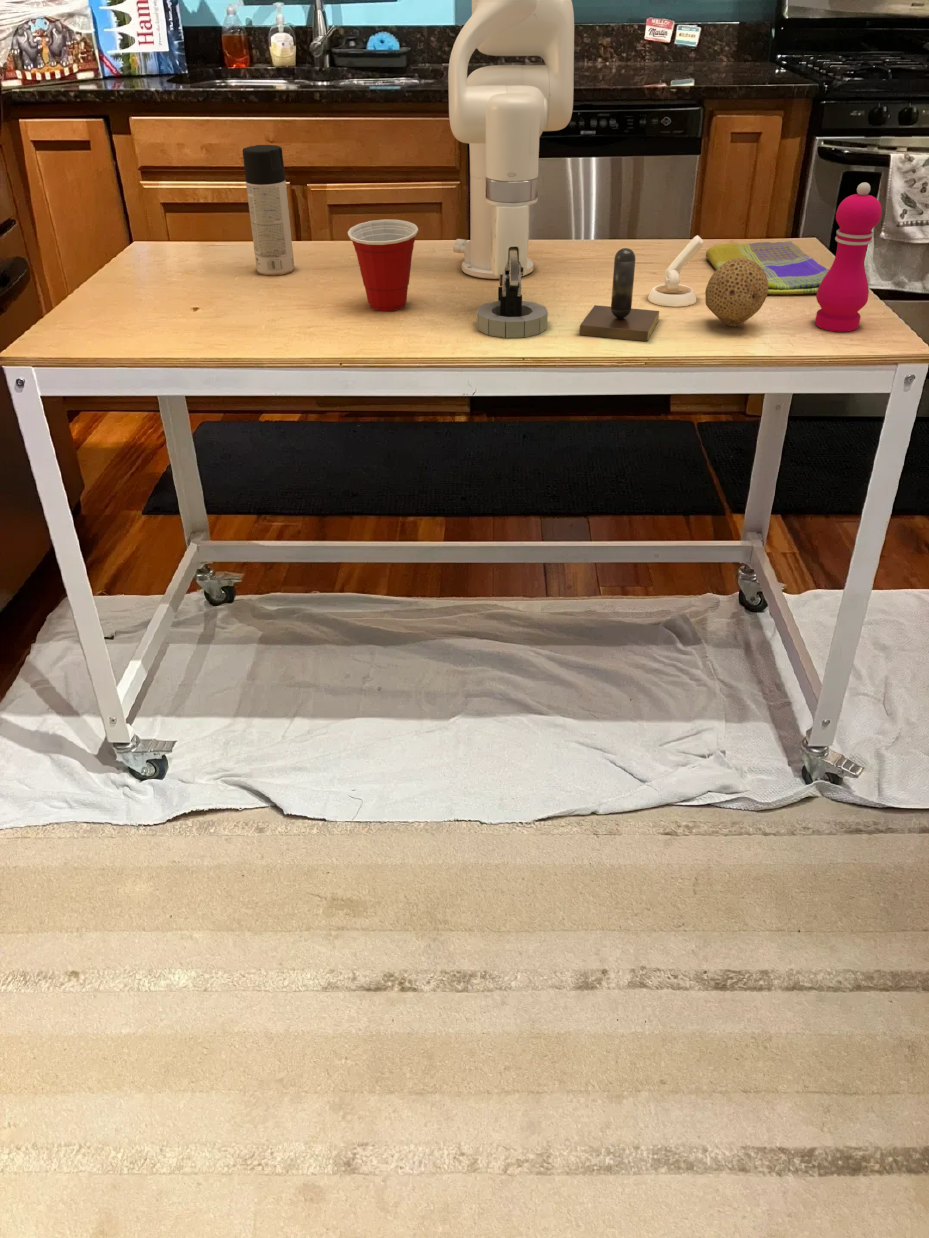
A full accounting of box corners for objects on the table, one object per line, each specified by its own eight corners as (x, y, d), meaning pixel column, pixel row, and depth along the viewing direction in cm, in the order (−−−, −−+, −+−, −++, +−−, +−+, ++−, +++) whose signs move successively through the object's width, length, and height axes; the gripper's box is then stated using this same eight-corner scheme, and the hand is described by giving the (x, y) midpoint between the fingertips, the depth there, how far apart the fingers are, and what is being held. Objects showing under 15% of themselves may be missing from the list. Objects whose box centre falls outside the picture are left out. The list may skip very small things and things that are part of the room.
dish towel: (734, 296, 163) (737, 279, 162) (702, 257, 184) (704, 241, 182) (842, 295, 164) (845, 277, 162) (798, 255, 184) (801, 239, 182)
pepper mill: (854, 336, 147) (885, 190, 136) (805, 328, 150) (831, 184, 139) (867, 322, 152) (898, 180, 141) (819, 315, 155) (845, 175, 144)
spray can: (302, 269, 179) (290, 146, 168) (277, 278, 175) (263, 152, 163) (274, 264, 182) (260, 143, 171) (248, 273, 178) (232, 149, 166)
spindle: (579, 335, 149) (583, 254, 142) (593, 314, 157) (598, 237, 150) (647, 341, 146) (654, 260, 140) (658, 320, 154) (666, 242, 147)
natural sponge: (760, 339, 146) (771, 269, 141) (698, 334, 149) (706, 265, 143) (762, 320, 154) (773, 252, 148) (703, 315, 156) (711, 248, 150)
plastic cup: (341, 313, 158) (334, 233, 152) (369, 293, 167) (365, 217, 160) (405, 320, 155) (401, 239, 148) (431, 300, 164) (428, 222, 157)
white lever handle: (735, 273, 156) (704, 249, 153) (681, 332, 163) (650, 310, 159) (722, 250, 161) (692, 227, 158) (670, 308, 168) (640, 286, 165)
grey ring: (465, 331, 150) (465, 315, 149) (495, 312, 158) (495, 296, 157) (529, 342, 146) (529, 325, 145) (557, 321, 154) (557, 305, 153)
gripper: (482, 179, 152) (481, 301, 162) (489, 203, 138) (488, 335, 149) (531, 178, 152) (528, 300, 163) (544, 202, 139) (539, 334, 149)
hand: (509, 316), depth 155 cm, fingers open, 3 cm apart
